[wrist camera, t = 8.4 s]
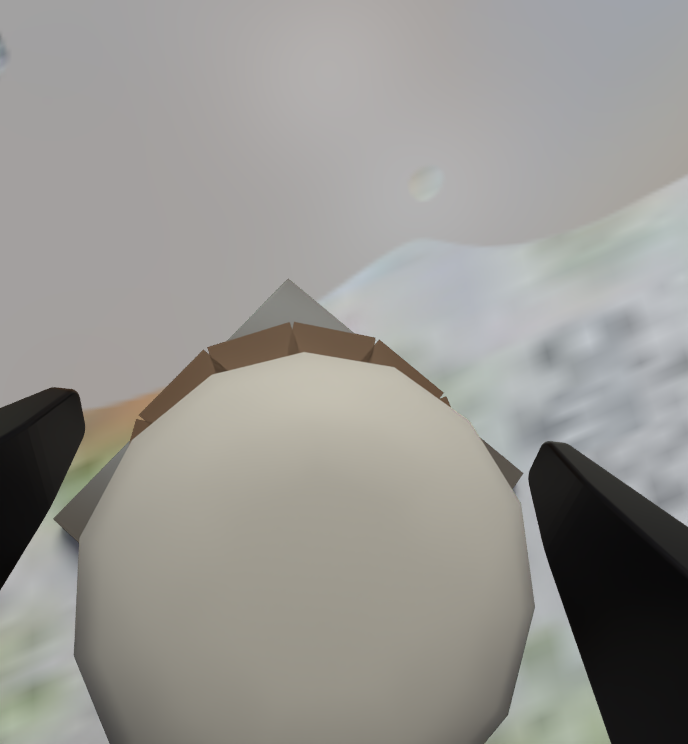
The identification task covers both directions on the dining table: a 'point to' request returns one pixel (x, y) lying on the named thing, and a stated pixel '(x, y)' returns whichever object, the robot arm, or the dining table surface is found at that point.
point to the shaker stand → (252, 346)
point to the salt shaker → (304, 567)
